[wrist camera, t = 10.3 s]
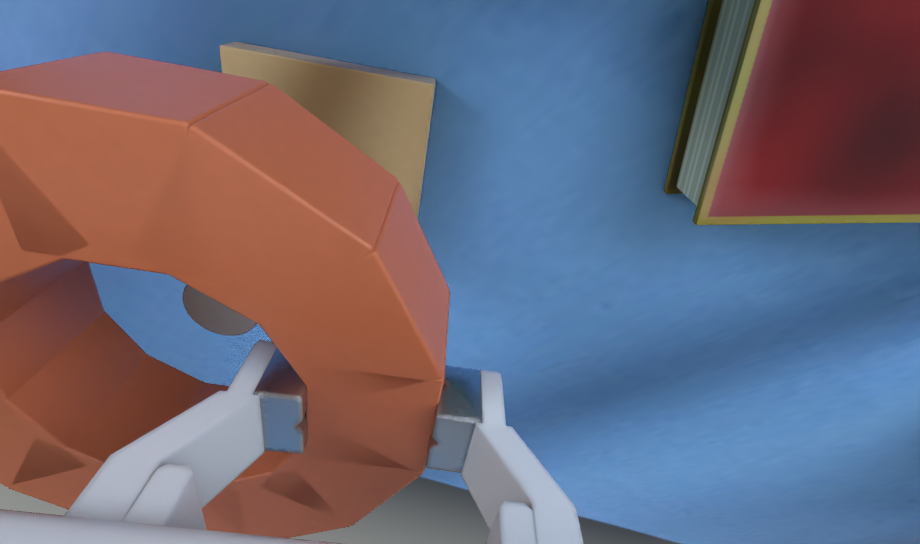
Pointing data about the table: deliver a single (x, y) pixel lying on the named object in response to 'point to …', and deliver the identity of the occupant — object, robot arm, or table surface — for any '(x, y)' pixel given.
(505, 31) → the table surface
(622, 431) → the table surface
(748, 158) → the hardcover book
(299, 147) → the ring
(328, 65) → the stand
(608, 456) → the table surface
